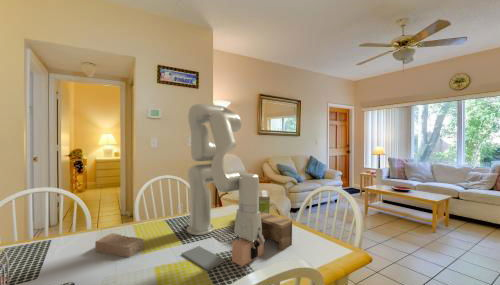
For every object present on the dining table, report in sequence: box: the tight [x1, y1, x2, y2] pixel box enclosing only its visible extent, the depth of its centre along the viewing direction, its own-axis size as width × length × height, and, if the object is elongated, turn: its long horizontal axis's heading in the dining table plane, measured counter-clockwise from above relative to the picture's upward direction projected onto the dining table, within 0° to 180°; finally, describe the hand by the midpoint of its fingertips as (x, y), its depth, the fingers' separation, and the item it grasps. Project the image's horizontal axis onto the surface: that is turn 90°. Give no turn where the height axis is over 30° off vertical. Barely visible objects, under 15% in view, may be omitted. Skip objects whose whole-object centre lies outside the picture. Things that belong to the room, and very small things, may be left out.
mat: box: [181, 245, 226, 272], centre depth 88 cm, size 16×8×1 cm, turn 48°
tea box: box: [259, 189, 271, 214], centre depth 128 cm, size 15×10×15 cm
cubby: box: [259, 211, 293, 252], centre depth 104 cm, size 21×7×10 cm, turn 48°
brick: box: [94, 232, 144, 258], centre depth 94 cm, size 17×8×5 cm, turn 74°
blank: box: [231, 235, 265, 267], centre depth 89 cm, size 5×12×7 cm, turn 139°
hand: (248, 254), depth 89 cm, fingers closed on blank, 5 cm apart
